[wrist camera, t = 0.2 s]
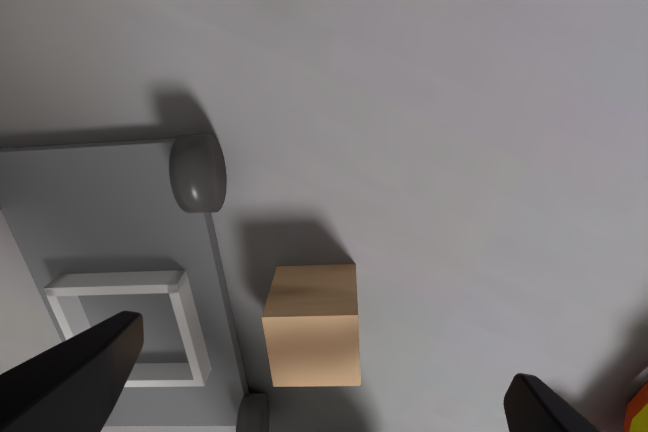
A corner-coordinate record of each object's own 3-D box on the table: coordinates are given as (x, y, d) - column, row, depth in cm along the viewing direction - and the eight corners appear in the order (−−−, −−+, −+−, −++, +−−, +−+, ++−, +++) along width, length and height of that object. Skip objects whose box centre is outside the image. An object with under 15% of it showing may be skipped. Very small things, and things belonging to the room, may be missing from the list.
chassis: (271, 418, 30) (261, 469, 27) (93, 418, 31) (60, 468, 28) (218, 126, 21) (191, 145, 17) (-36, 141, 22) (-112, 162, 18)
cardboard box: (358, 325, 26) (360, 386, 22) (285, 327, 27) (273, 386, 22) (355, 263, 24) (358, 315, 20) (276, 265, 24) (261, 317, 20)
